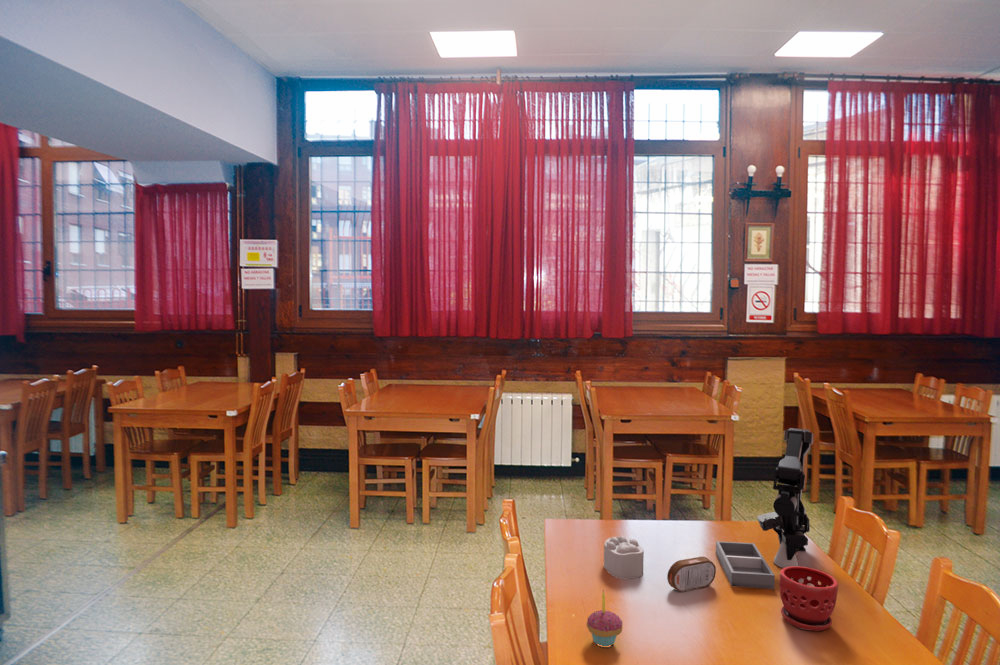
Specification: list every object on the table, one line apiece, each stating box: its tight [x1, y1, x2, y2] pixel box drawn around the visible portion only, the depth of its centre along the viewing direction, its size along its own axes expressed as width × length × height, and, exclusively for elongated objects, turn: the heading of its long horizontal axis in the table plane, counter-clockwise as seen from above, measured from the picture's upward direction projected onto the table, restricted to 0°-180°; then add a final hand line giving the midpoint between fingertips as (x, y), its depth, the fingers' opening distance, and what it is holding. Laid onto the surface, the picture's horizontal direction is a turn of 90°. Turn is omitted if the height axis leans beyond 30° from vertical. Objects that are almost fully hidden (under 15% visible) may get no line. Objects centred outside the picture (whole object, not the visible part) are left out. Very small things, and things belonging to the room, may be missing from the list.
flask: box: [773, 531, 799, 569], centre depth 191 cm, size 7×7×10 cm
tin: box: [666, 556, 717, 593], centre depth 176 cm, size 15×3×8 cm, turn 111°
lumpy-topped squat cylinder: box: [603, 535, 645, 580], centre depth 188 cm, size 10×13×9 cm
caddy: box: [715, 540, 776, 590], centre depth 187 cm, size 12×22×4 cm, turn 172°
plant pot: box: [779, 566, 839, 632], centre depth 158 cm, size 13×13×12 cm
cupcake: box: [586, 589, 623, 646], centre depth 149 cm, size 9×8×12 cm
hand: (786, 556), depth 191 cm, fingers closed on flask, 5 cm apart
